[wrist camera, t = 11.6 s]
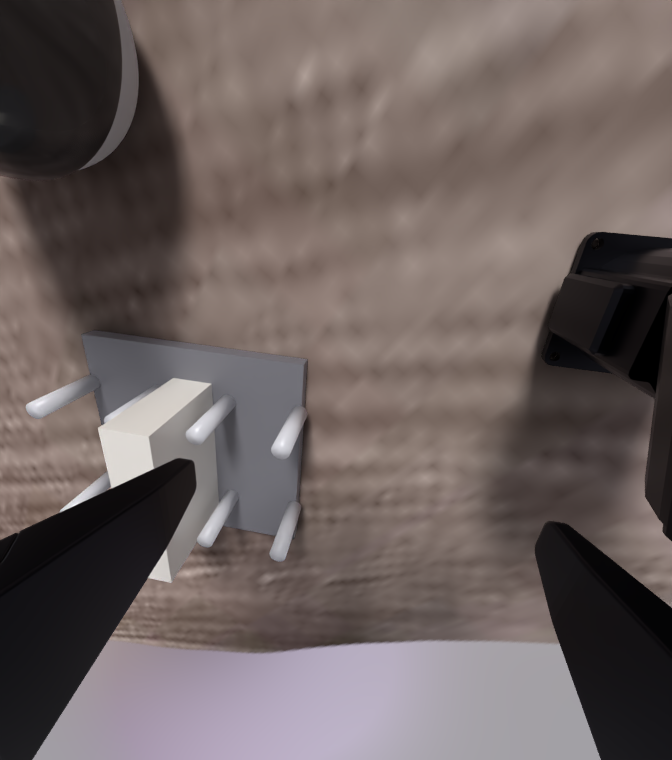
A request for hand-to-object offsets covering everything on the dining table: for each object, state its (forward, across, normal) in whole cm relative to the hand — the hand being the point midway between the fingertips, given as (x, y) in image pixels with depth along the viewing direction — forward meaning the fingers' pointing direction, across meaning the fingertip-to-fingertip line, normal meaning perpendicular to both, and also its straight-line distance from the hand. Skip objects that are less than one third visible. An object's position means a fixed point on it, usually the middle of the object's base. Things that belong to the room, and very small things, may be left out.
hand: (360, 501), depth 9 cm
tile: (+11, +11, +8) cm, 17 cm away
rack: (+12, +11, +8) cm, 18 cm away
